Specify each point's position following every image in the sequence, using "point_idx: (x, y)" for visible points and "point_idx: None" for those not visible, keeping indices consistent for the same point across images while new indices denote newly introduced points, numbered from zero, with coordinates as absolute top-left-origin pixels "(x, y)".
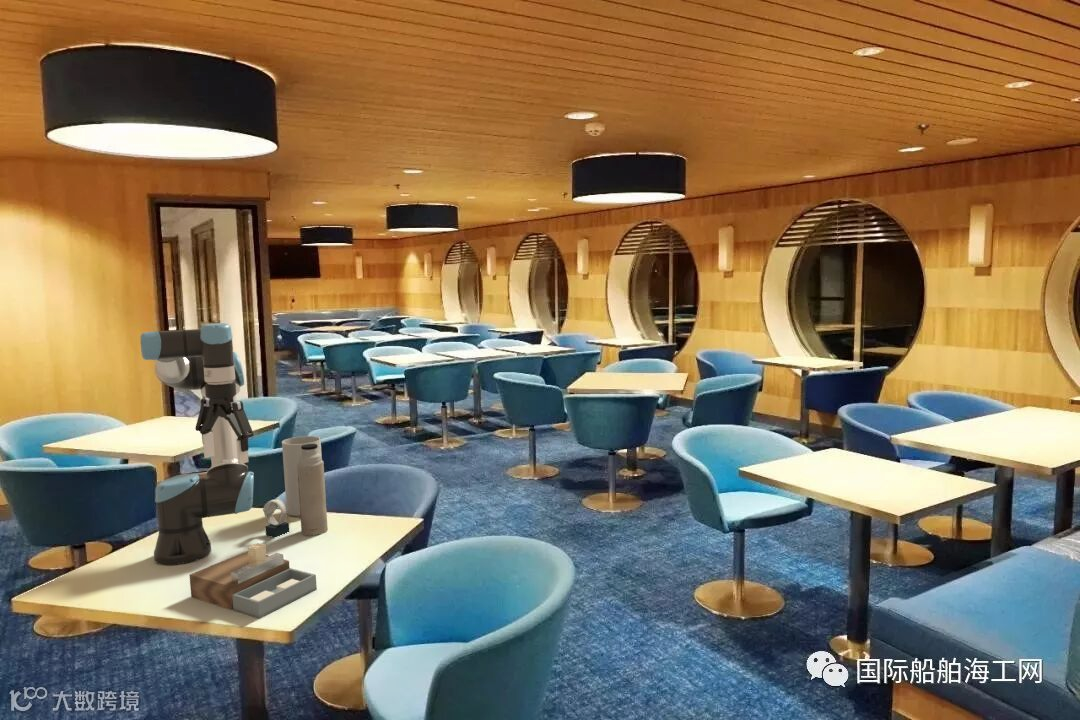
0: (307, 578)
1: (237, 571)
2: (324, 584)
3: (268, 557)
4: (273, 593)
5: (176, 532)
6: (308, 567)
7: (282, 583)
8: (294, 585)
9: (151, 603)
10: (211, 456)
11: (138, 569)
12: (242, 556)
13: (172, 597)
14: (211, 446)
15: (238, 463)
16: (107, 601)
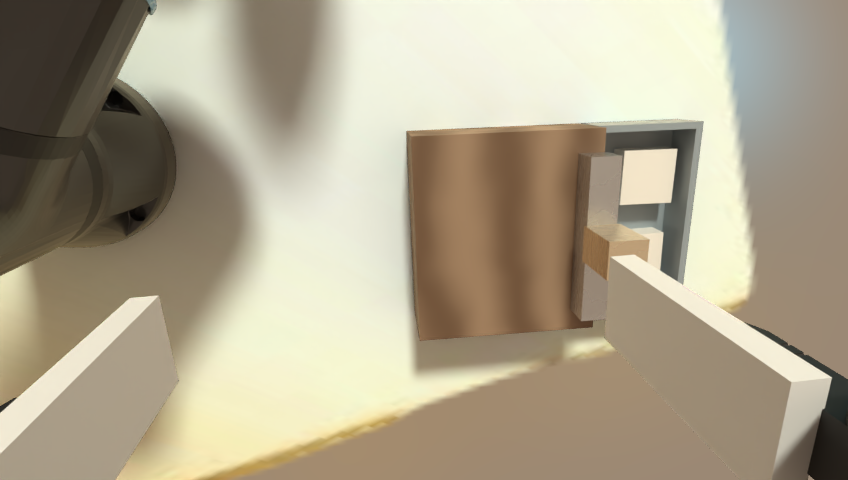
0: (698, 152)
1: (594, 309)
2: (674, 83)
3: (598, 197)
4: (646, 237)
5: (87, 226)
6: (544, 14)
7: (623, 185)
8: (692, 199)
9: (361, 376)
10: (164, 329)
11: (94, 290)
12: (439, 181)
13: (374, 335)
14: (114, 378)
15: (611, 339)
16: (256, 423)
